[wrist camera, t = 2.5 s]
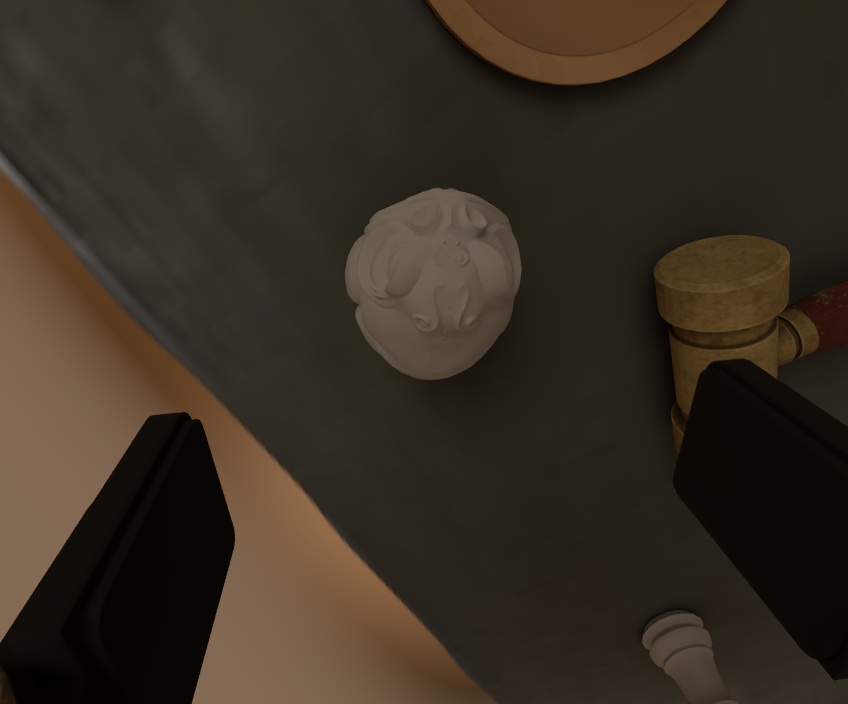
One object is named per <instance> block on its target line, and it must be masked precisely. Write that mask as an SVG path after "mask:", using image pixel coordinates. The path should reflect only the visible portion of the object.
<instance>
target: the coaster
mask: <svg viewBox="0 0 848 704" xmlns="http://www.w3.org/2000/svg"><path fill="white" fill-rule="evenodd" d="M425 1H426V2H427V4H428V6H429V7H430V8H431V9H432V11H433V12H434V13H435V15H436V16H437V17H438V19H439V20H440V21H441V23H442V24H443V25H444V27H445V28H446V29H447V30H448V31H449V32H450V33H451V34H452V35H453V36H454V37H455V38H456V39H457V40H458V41H459V42H460V43H461V44H462V45H463V46H464V47H466V48H467V49H468V50H470V51H471V52H472V53H474V54H475V55H476V56H478V57H479V58H480V59H482V60H483V61H484V62H486V63H488V64H490V65H492V66H494V67H495V68H497V69H499V70H501V71H503V72H505V73H507V74H510V75H513V76H516V77H518V78H521V79H524V80H527V81H532V82H537V83H542V84H548V85H585V84H593V83H601V82H604V81H608V80H612V79H615V78H619V77H623V76H625V75H628V74H630V73H632V72H635V71H637V70H639V69H642V68H644V67H647V66H648V65H650V64H652V63H653V62H655V61H657V60H659V59H660V58H662V57H664V56H665V55H667V54H669V53H670V52H672V51H673V50H674V49H676V48H677V47H678V46H680V45H681V44H682V43H684V42H685V41H686V40H688V39H689V38H690V37H692V36H693V35H694V34H695V33H696V32H697V31H698V30H699V29H700V28H701V27H702V26H703V25H704V24H706V23H707V22H708V21H709V20H710V19H711V18H712V17H713V16H714V15H715V14H716V13H717V11H718V10H719V9H720V8H721V7H722V6H723V5H724V3H725V2H726V1H727V0H425Z"/></svg>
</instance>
